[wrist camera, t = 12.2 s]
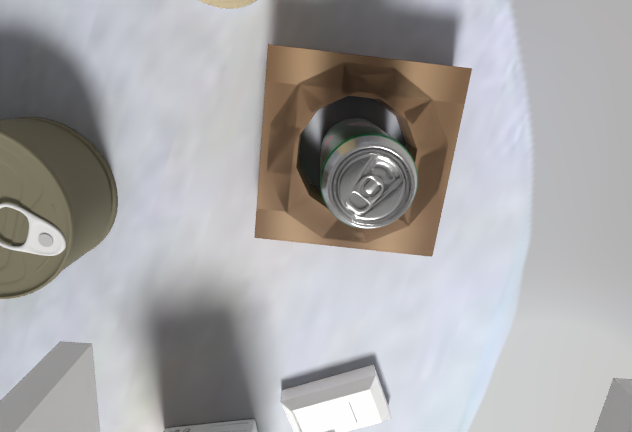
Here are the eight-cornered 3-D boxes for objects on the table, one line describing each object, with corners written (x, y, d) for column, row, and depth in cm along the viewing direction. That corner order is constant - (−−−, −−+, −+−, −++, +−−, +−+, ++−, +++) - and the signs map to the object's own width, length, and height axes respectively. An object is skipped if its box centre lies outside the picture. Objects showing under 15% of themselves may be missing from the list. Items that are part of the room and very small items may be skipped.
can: (-19, 89, 30) (-112, 88, 24) (137, 149, 32) (89, 165, 25) (-40, 229, 34) (-127, 263, 27) (101, 279, 35) (51, 323, 28)
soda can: (399, 145, 31) (444, 179, 20) (357, 195, 32) (376, 254, 21) (349, 103, 30) (365, 113, 19) (307, 156, 32) (299, 195, 20)
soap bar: (387, 402, 39) (392, 424, 36) (299, 426, 40) (298, 449, 37) (373, 361, 38) (377, 381, 35) (282, 387, 39) (279, 408, 36)
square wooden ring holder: (262, 220, 33) (254, 237, 29) (274, 50, 29) (268, 44, 26) (419, 237, 33) (432, 256, 30) (452, 71, 30) (471, 68, 26)
